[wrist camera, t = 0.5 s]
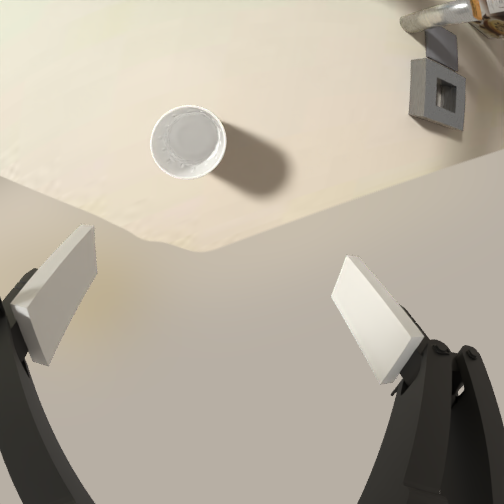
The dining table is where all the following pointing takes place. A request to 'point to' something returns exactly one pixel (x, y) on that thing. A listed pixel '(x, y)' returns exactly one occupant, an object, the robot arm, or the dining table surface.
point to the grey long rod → (442, 15)
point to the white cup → (188, 142)
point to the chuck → (424, 94)
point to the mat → (442, 47)
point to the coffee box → (491, 18)
